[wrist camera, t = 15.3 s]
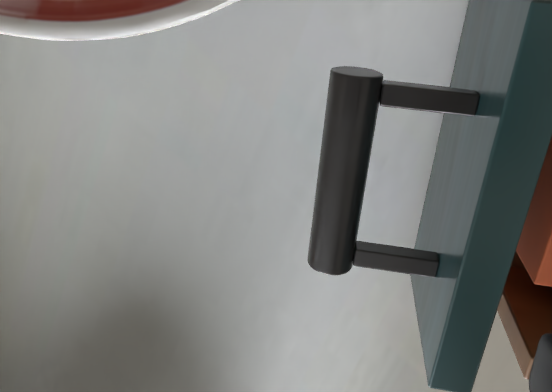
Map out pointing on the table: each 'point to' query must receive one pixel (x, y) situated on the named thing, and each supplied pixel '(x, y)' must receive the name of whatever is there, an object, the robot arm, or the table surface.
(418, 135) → the table surface
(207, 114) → the table surface
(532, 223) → the block
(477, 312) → the drawer
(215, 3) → the dinner plate
